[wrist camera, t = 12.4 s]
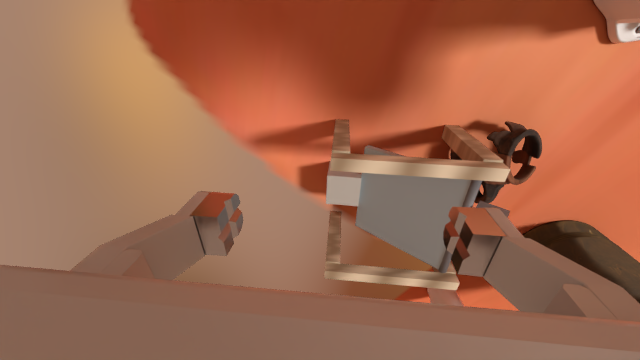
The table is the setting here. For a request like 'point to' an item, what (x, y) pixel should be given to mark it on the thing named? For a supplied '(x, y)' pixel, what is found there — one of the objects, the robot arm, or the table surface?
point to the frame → (471, 167)
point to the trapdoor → (413, 210)
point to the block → (343, 187)
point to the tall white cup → (444, 297)
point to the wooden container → (590, 252)
